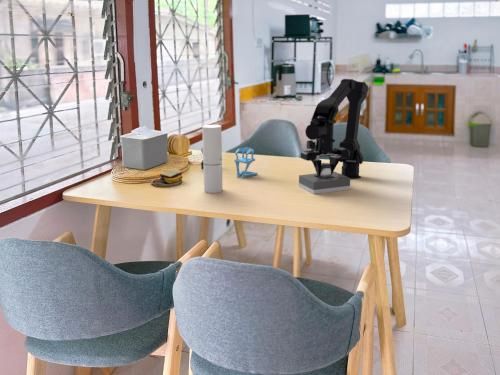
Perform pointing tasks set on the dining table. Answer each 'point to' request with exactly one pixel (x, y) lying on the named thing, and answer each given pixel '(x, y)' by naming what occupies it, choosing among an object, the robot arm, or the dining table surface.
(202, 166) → the watch
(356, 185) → the dining table surface
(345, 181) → the grey plate with pocket
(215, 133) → the cylindrical container
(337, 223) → the dining table surface
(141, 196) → the dining table surface
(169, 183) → the toy sandwich meal
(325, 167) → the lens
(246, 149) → the chair
